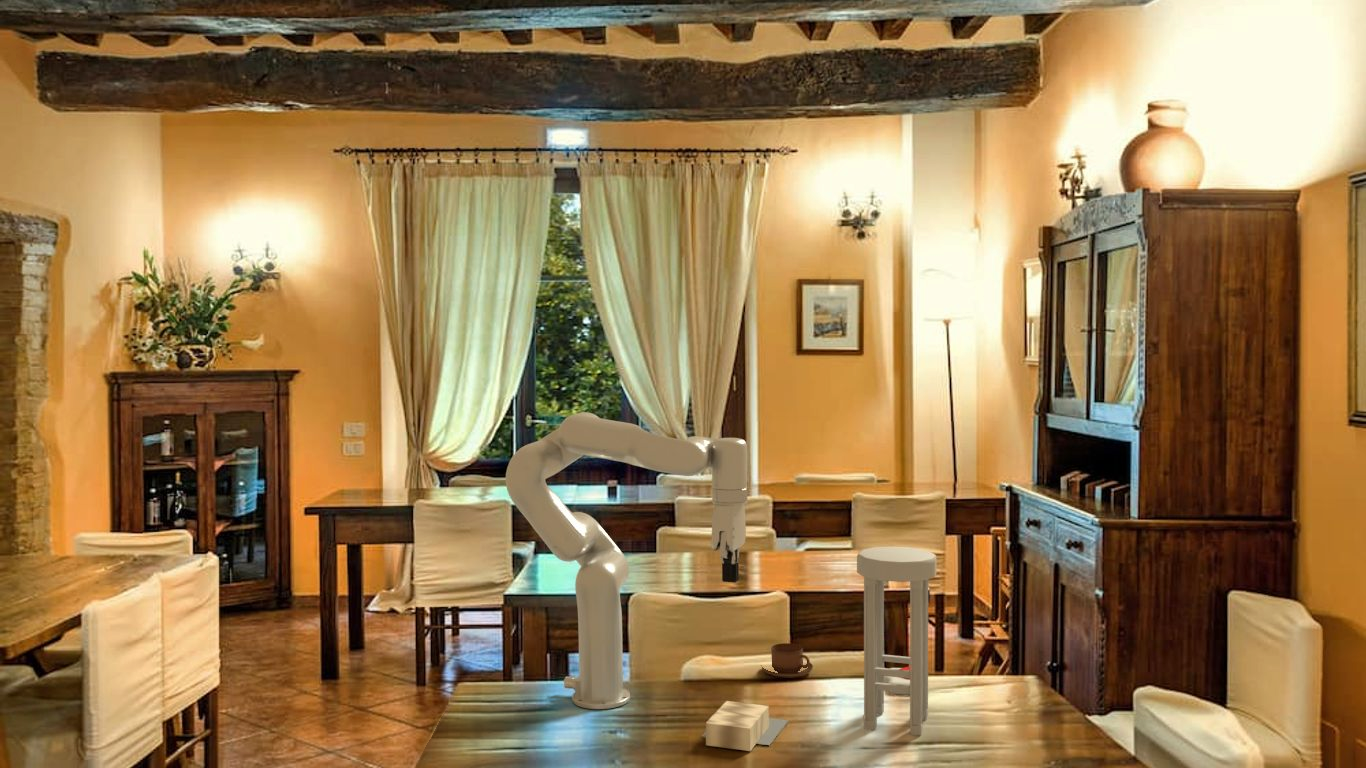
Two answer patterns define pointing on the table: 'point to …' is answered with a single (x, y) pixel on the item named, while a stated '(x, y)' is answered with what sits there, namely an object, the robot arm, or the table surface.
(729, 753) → the table surface
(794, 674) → the cup and saucer
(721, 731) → the slab
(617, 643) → the robot arm
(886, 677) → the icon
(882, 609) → the stool
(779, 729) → the mat
